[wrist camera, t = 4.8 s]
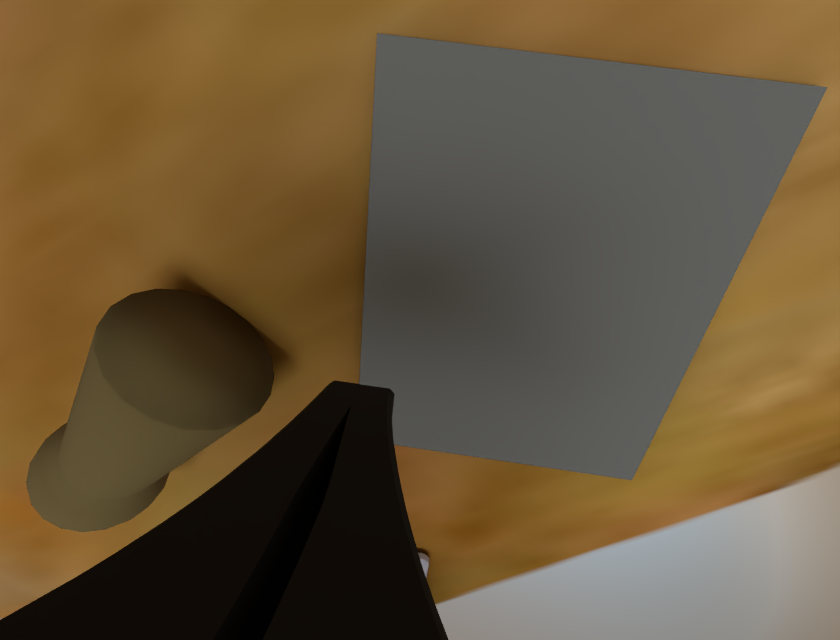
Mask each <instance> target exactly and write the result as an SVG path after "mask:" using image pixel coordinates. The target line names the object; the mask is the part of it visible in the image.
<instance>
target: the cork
mask: <svg viewBox="0 0 840 640" xmlns="http://www.w3.org/2000/svg"><path fill="white" fill-rule="evenodd" d="M273 380H274V372H273V366H272V360H271V356H270V354H269V352H268V350H267V348H266V346H265V344H264V342H263V340H262V338H261V337H260V336H259V335H258V334H257V332H256V331H255V330H254V329H253V328H252V326H251V325H250V324H249V323H248V322H247V321H246V320H244V319H243V318H242V317H241V316H239V315H238V314H237V313H235V312H234V311H233V310H231V309H230V308H229V307H227V306H225V305H223V304H221V303H219V302H217V301H215V300H213V299H210V298H208V297H206V296H202V295H199V294H195V293H191V292H187V291H184V290H170V289H153V290H148V291H144V292H139V293H134V294H131V295H129V296H127V297H126V298H124V299H122V300H121V301H119V302H117V303H115V304H114V305H112V306H111V307H110V308H109V309H108V311H107V312H106V314H105V315H104V316H103V318H102V319H101V321H100V322H99V324H98V325H97V327H96V331H95V334H94V337H93V340H92V344H91V347H90V350H89V354H88V357H87V360H86V363H85V367H84V370H83V373H82V376H81V380H80V383H79V386H78V390H77V393H76V396H75V399H74V403H73V406H72V409H71V412H70V416H69V419H68V422H67V423H66V424H64V425H63V426H61V427H60V428H59V429H58V430H56V431H55V432H54V433H53V434H51V435H50V436H49V437H48V438H47V439H45V441H44V442H43V444H42V445H41V447H40V448H39V450H38V452H37V453H36V455H35V456H34V458H33V459H32V461H31V462H30V466H29V471H28V476H27V481H26V483H27V489H28V493H29V497H30V501H31V504H32V506H33V507H34V508H35V509H36V511H37V512H38V513H39V514H40V515H41V517H42V518H43V519H45V520H46V521H48V522H50V523H52V524H54V525H56V526H58V527H60V528H62V529H68V530H74V531H80V532H87V531H96V530H104V529H107V528H110V527H113V526H115V525H118V524H121V523H123V522H126V521H128V520H131V519H132V518H134V517H135V516H136V515H138V514H139V513H140V512H142V511H143V510H145V509H146V508H147V507H148V506H149V505H150V504H151V503H152V502H153V501H154V500H155V498H156V497H157V496H158V494H159V493H160V492H161V491H162V489H163V488H164V486H165V484H166V481H167V478H168V475H169V473H170V471H172V470H173V469H175V468H176V467H178V466H179V465H181V464H182V463H184V462H185V461H187V460H188V459H190V458H191V457H193V456H194V455H196V454H197V453H199V452H200V451H201V450H203V449H204V448H206V447H207V446H209V445H210V444H212V443H213V442H215V441H216V440H218V439H219V438H221V437H222V436H224V435H225V434H227V433H228V432H230V431H231V430H233V429H234V428H236V427H237V426H239V425H240V424H241V423H243V422H244V421H246V420H247V419H249V418H250V417H252V416H253V415H255V414H256V413H258V412H259V411H260V410H261V408H262V407H263V405H264V404H265V402H266V401H267V399H268V398H269V396H270V395H271V390H272V385H273Z"/></svg>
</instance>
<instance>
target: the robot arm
mask: <svg viewBox="0 0 840 640" xmlns="http://www.w3.org/2000/svg"><path fill="white" fill-rule="evenodd" d="M394 395H395V394H394V393H393V391H392V390H391V389H389V388H382V387H376V386H369V385H362V384H355V383H348V382H341V381H333V382H331V383H330V384H329V385H328V386H327V387H326V388H325V389H324V390H323V391H322V392H321V393H320V394H319V395H318V396H317V397H316V398H315V399H314V400H313V401H312V402H311V403H310V404H309V405H308V406H307V407H306V408H305V409H303V410H302V411H301V412H300V413H299V414H298V415H297V416H296V417H295V418H294V419H293V420H292V421H291V422H290V423H289V424H287V425H286V426H285V427H284V428H283V429H282V430H281V431H280V432H279V433H277V434H276V435H275V436H274V437H273V438H272V439H271V440H270V441H268V442H267V443H266V444H265V445H264V446H263V447H262V448H260V449H259V450H258V451H257V452H256V453H254V454H253V455H252V456H251V457H249V458H248V459H247V460H246V461H244V462H243V463H242V464H241V465H240V466H238V467H237V468H236V469H235V470H233V471H232V472H231V473H230V474H228V475H227V476H226V477H225V478H223V479H222V480H221V481H220V482H218V483H217V484H216V485H214V486H213V487H212V488H210V489H209V490H208V491H206V492H205V493H204V494H202V495H201V496H199V497H198V498H197V499H195V500H194V501H193V502H191V503H190V504H188V505H187V506H186V507H184V508H183V509H181V510H180V511H178V512H177V513H176V514H174V515H173V516H171V517H170V518H168V519H167V520H165V521H164V522H162V523H161V524H160V525H158V526H156V527H155V528H153V529H152V530H150V531H149V532H147V533H146V534H144V535H143V536H141V537H139V538H138V539H136V540H135V541H133V542H132V543H130V544H129V545H127V546H126V547H124V548H122V549H121V550H119V551H118V552H116V553H115V554H113V555H112V556H110V557H108V558H107V559H105V560H103V561H102V562H100V563H99V564H97V565H95V566H94V567H92V568H90V569H89V570H87V571H85V572H84V573H82V574H80V575H79V576H77V577H75V578H74V579H72V580H70V581H68V582H67V583H65V584H63V585H61V586H60V587H58V588H56V589H54V590H52V591H51V592H49V593H47V594H45V595H44V596H42V597H40V598H38V599H37V600H35V601H33V602H31V603H30V604H28V605H26V606H24V607H22V608H21V609H19V610H17V611H15V612H14V613H12V614H10V615H8V616H7V617H5V618H3V619H1V620H0V640H448V638H447V635H446V632H445V630H444V627H443V624H442V622H441V619H440V616H439V614H438V611H437V609H436V606H435V603H434V600H433V597H432V594H431V591H430V588H429V585H428V582H427V579H426V577H427V572H428V566H429V557H428V556H427V555H425V554H423V553H419V552H418V551H417V547H416V544H415V541H414V537H413V534H412V530H411V526H410V522H409V518H408V515H407V511H406V506H405V502H404V497H403V493H402V489H401V484H400V479H399V474H398V468H397V461H396V455H395V448H394V440H393V428H392V415H393V405H394Z"/></svg>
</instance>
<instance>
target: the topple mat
mask: <svg viewBox="0 0 840 640" xmlns="http://www.w3.org/2000/svg"><path fill="white" fill-rule="evenodd" d="M826 89H827V87H820V86H812V85H803V84H795V83H787V82H778V81H770V80H762V79H753V78H745V77H737V76H728V75H720V74H712V73H703V72H695V71H687V70H678V69H670V68H662V67H653V66H645V65H637V64H628V63H620V62H612V61H603V60H595V59H587V58H578V57H570V56H562V55H553V54H545V53H537V52H529V51H520V50H512V49H504V48H495V47H487V46H479V45H470V44H462V43H454V42H445V41H437V40H429V39H420V38H412V37H404V36H395V35H387V34H379V33H377V48H376V67H375V87H374V106H373V126H372V145H371V165H370V184H369V204H368V223H367V243H366V262H365V282H364V302H363V321H362V341H361V360H360V380H359V384H362V385H369V386H376V387H382V388H389V389H391V390H392V391H393V393H394V394H395V395H394V405H393V415H392V428H393V440H394V445H399V446H406V447H413V448H419V449H426V450H433V451H440V452H446V453H453V454H460V455H466V456H473V457H480V458H486V459H493V460H500V461H507V462H513V463H520V464H527V465H533V466H540V467H547V468H554V469H560V470H567V471H574V472H580V473H587V474H594V475H601V476H607V477H614V478H621V479H627V480H632V479H633V477H634V475H635V473H636V471H637V469H638V467H639V465H640V463H641V461H642V459H643V457H644V455H645V453H646V451H647V449H648V447H649V445H650V443H651V441H652V439H653V436H654V434H655V432H656V430H657V428H658V426H659V424H660V422H661V420H662V418H663V416H664V414H665V412H666V410H667V408H668V406H669V404H670V402H671V400H672V398H673V396H674V394H675V392H676V390H677V388H678V386H679V384H680V382H681V380H682V378H683V376H684V374H685V372H686V370H687V368H688V366H689V364H690V362H691V360H692V358H693V356H694V354H695V352H696V350H697V348H698V346H699V344H700V342H701V340H702V338H703V336H704V334H705V332H706V330H707V328H708V326H709V324H710V322H711V320H712V318H713V316H714V314H715V312H716V310H717V308H718V306H719V304H720V302H721V300H722V298H723V296H724V294H725V292H726V290H727V288H728V286H729V284H730V282H731V280H732V278H733V276H734V274H735V272H736V270H737V268H738V266H739V264H740V262H741V260H742V258H743V256H744V254H745V252H746V250H747V248H748V246H749V244H750V242H751V240H752V238H753V236H754V234H755V232H756V230H757V228H758V226H759V224H760V222H761V220H762V218H763V216H764V214H765V212H766V210H767V208H768V206H769V204H770V202H771V199H772V197H773V195H774V193H775V191H776V189H777V187H778V185H779V183H780V181H781V179H782V177H783V175H784V173H785V171H786V169H787V167H788V165H789V163H790V161H791V159H792V157H793V155H794V153H795V151H796V149H797V147H798V145H799V143H800V141H801V139H802V137H803V135H804V133H805V131H806V129H807V127H808V125H809V123H810V121H811V119H812V117H813V115H814V113H815V111H816V109H817V107H818V105H819V103H820V101H821V99H822V97H823V95H824V93H825V91H826Z"/></svg>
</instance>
